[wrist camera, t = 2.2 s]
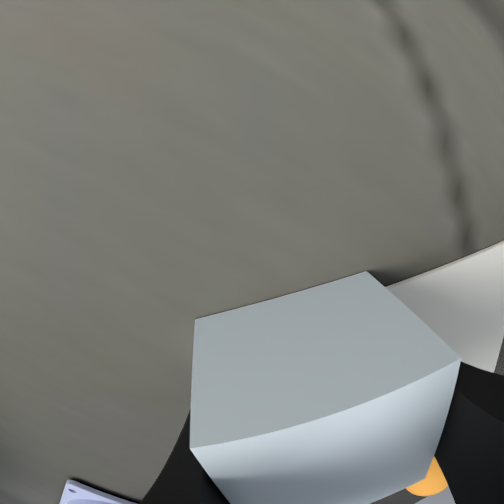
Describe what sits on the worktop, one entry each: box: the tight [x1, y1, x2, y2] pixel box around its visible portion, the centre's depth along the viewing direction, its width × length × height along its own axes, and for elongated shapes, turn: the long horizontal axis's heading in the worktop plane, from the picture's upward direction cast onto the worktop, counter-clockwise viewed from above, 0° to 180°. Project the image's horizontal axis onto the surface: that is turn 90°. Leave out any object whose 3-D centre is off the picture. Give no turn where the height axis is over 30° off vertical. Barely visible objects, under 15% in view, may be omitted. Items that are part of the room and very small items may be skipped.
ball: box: [406, 456, 448, 496], centre depth 13 cm, size 4×4×4 cm
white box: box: [190, 271, 461, 504], centre depth 9 cm, size 6×6×5 cm
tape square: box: [385, 241, 504, 373], centre depth 12 cm, size 10×10×1 cm
